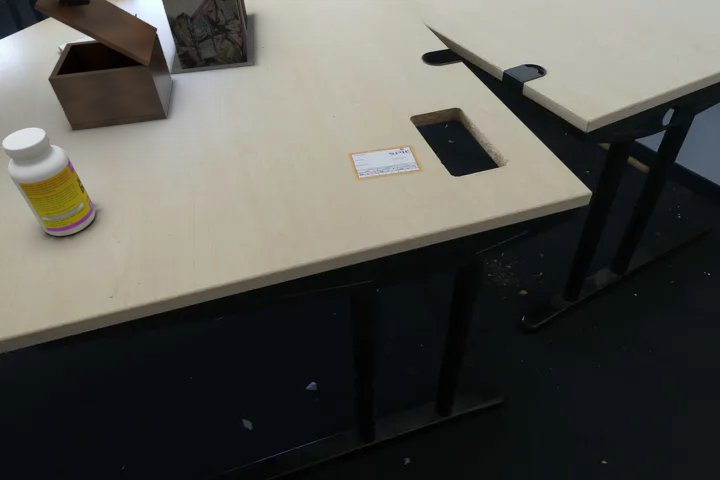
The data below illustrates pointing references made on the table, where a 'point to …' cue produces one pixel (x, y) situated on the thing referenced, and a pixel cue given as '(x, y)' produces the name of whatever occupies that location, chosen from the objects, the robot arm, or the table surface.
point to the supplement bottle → (48, 182)
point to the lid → (105, 26)
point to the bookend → (210, 34)
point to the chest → (110, 85)
